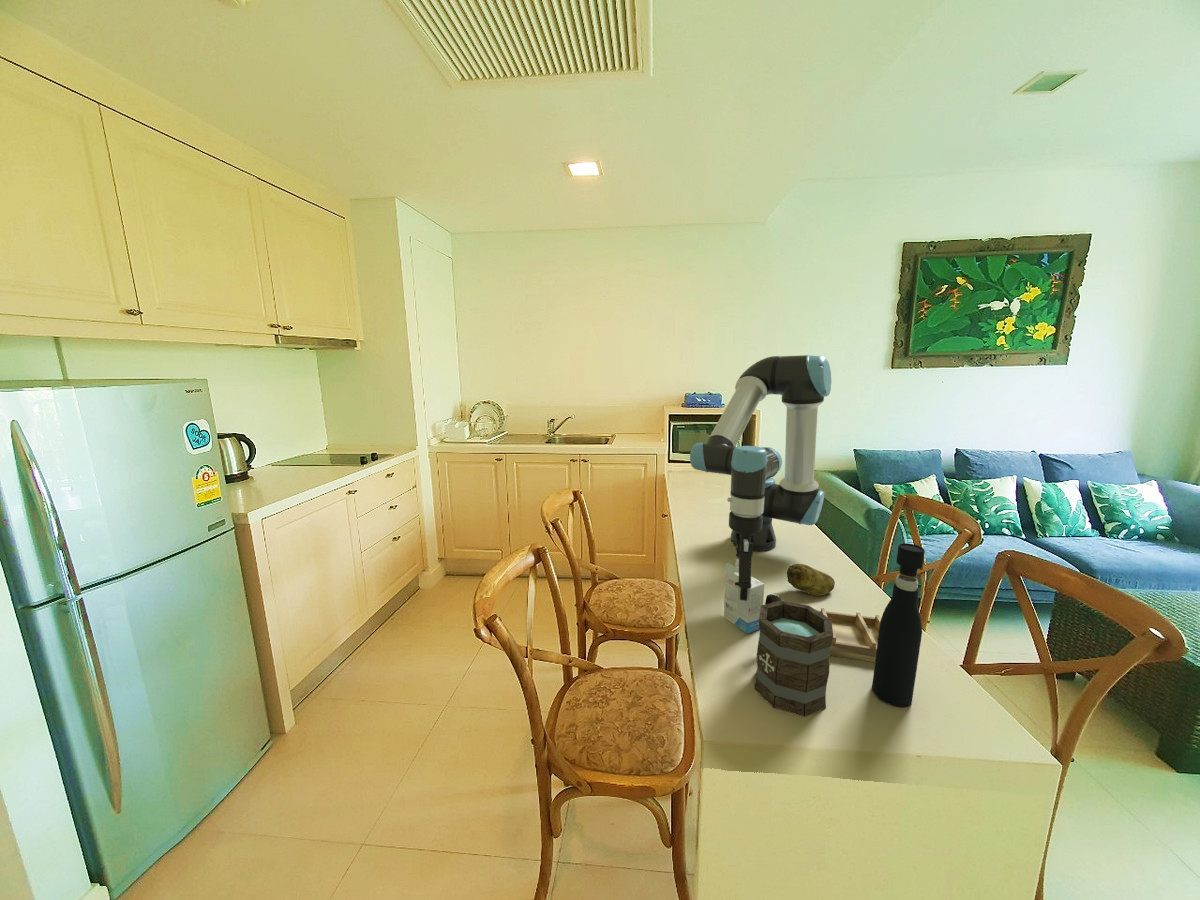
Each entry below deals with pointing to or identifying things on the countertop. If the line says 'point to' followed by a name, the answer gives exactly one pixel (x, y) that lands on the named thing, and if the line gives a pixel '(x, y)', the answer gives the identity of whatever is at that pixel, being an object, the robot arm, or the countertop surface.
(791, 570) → the potato
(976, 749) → the countertop surface
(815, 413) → the robot arm
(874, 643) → the rack
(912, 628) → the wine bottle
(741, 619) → the ink box
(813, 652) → the mug
